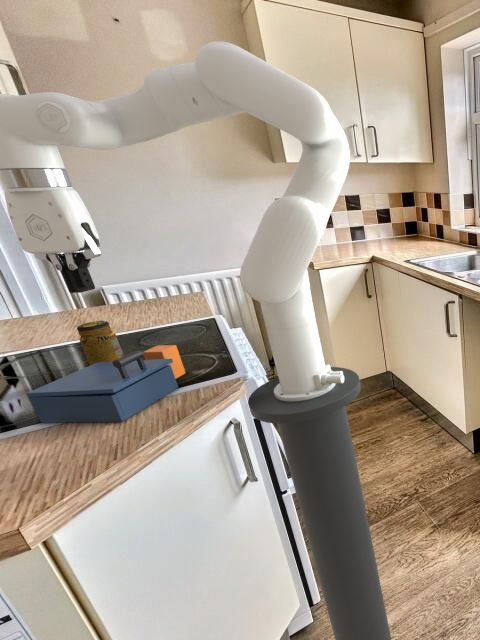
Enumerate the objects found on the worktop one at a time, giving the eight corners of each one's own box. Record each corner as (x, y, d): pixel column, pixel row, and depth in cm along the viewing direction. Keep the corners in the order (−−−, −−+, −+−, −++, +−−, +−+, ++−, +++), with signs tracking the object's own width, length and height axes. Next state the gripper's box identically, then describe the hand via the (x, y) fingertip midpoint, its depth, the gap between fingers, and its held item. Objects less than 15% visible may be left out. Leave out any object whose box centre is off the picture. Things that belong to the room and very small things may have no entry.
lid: (173, 361, 88) (165, 341, 86) (114, 392, 75) (103, 369, 73) (98, 365, 89) (89, 345, 87) (27, 397, 76) (15, 374, 74)
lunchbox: (178, 387, 90) (170, 364, 88) (122, 421, 77) (111, 396, 75) (108, 388, 91) (98, 366, 89) (40, 422, 78) (28, 397, 76)
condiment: (112, 366, 102) (93, 319, 98) (145, 365, 102) (127, 318, 97) (82, 379, 95) (60, 329, 91) (118, 379, 95) (97, 329, 90)
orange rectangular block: (185, 373, 97) (176, 344, 94) (172, 381, 93) (161, 351, 91) (167, 373, 97) (157, 345, 94) (153, 381, 93) (142, 352, 91)
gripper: (-34, 183, 66) (20, 297, 72) (58, 180, 65) (103, 295, 72) (20, 182, 73) (64, 286, 79) (103, 180, 72) (141, 285, 79)
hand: (83, 290), depth 75 cm, fingers closed
